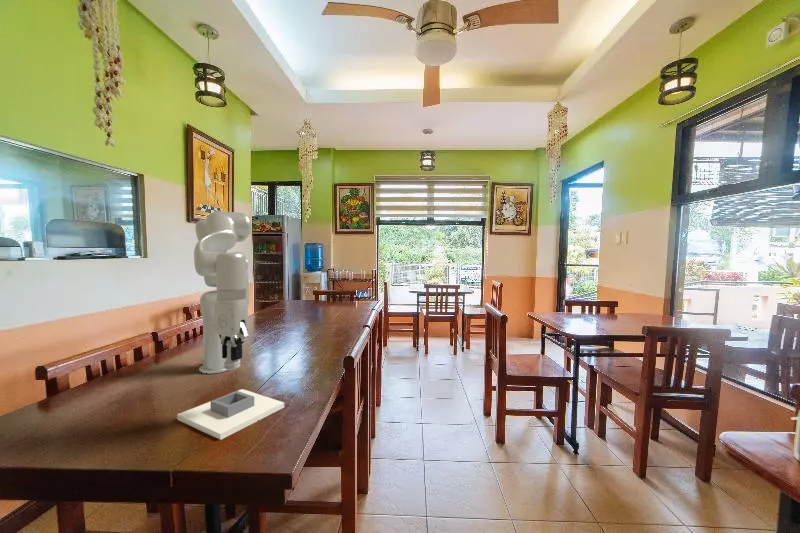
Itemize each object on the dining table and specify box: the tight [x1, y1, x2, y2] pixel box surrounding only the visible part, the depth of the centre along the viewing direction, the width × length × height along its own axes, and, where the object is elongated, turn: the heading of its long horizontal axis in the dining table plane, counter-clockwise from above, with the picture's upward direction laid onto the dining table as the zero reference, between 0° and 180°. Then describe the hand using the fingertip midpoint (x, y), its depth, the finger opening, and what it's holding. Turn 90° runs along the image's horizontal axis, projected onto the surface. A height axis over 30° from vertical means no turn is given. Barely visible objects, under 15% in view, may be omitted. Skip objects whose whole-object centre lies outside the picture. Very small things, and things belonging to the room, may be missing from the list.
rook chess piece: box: [224, 339, 241, 371], centre depth 94 cm, size 4×4×8 cm
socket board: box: [176, 388, 285, 441], centre depth 95 cm, size 20×20×4 cm
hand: (232, 357), depth 94 cm, fingers closed on rook chess piece, 3 cm apart
